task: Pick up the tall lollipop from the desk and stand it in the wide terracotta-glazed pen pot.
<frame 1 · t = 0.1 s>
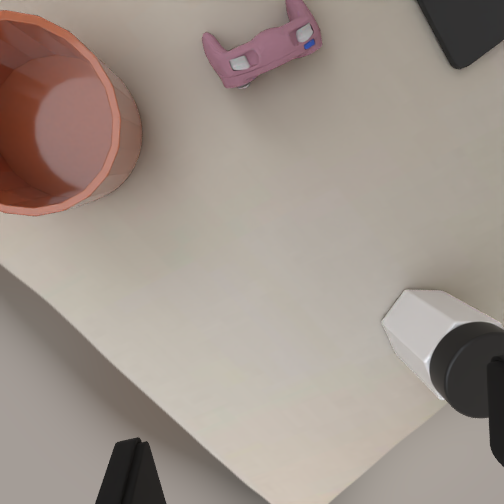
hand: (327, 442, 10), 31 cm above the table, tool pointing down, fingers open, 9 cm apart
jar: (417, 321, 45), on the table
video game controller: (258, 49, 37), on the table
pen pot: (67, 129, 37), on the table
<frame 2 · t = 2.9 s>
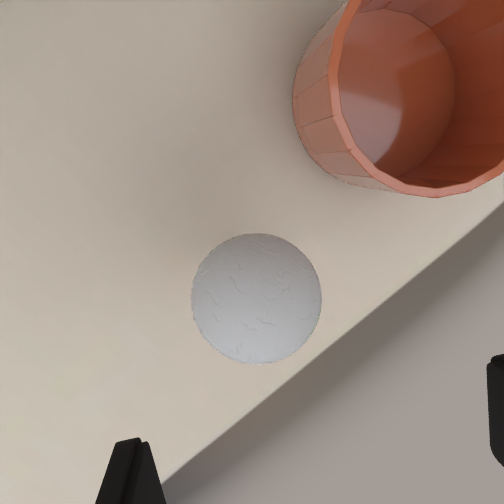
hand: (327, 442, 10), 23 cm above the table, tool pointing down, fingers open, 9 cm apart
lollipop: (238, 251, 33), on the table
pen pot: (376, 99, 31), on the table
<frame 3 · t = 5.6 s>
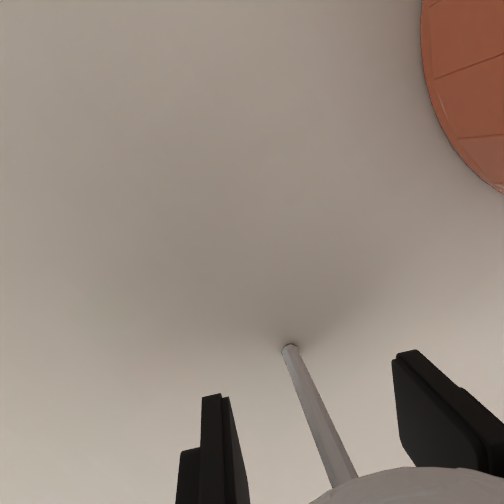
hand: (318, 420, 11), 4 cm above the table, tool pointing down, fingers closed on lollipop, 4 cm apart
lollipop: (288, 349, 16), on the table, touching gripper
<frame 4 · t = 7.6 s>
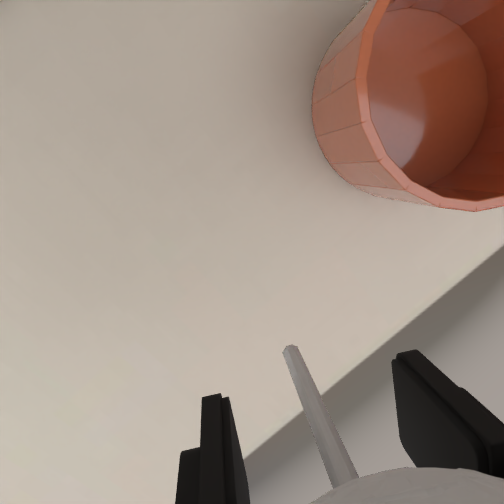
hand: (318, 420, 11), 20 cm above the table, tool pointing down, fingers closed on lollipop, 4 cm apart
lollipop: (289, 350, 16), point 15 cm above the table, touching gripper
pen pot: (401, 104, 29), on the table
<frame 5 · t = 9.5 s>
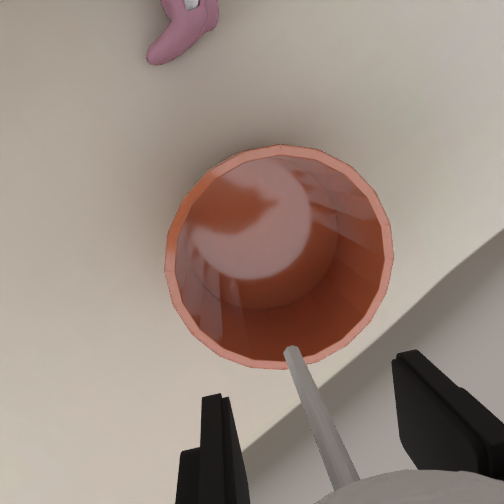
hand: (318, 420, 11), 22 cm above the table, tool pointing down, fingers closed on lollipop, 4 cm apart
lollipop: (290, 350, 16), point 18 cm above the table, touching gripper
pen pot: (261, 235, 33), on the table
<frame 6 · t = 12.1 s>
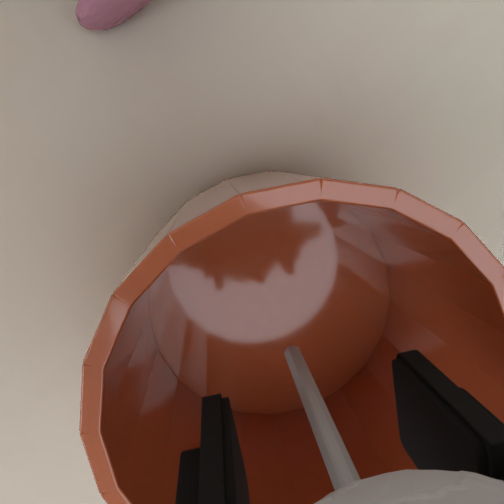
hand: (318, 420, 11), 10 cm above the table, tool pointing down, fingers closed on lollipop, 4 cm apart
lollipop: (291, 350, 16), point 5 cm above the table, touching gripper
pen pot: (271, 302, 21), on the table
when the fingers open (6 cm above the table, at t = 13.8 s): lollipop moves 1 cm, resting on pen pot.
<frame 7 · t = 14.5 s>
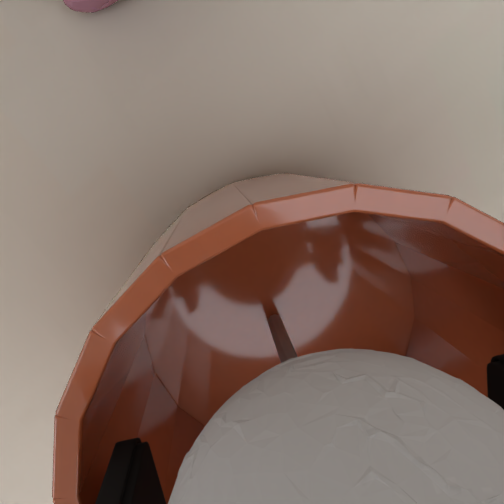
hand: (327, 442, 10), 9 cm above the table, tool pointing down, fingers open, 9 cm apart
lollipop: (273, 319, 18), resting on pen pot
pen pot: (281, 319, 19), on the table
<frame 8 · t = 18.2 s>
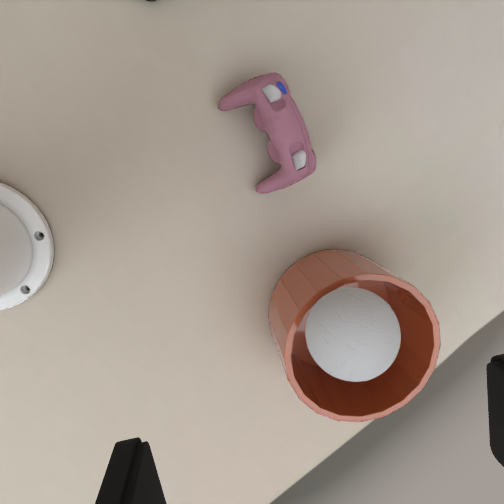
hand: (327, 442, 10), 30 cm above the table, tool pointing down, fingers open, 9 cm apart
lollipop: (328, 310, 42), point 1 cm above the table, touching pen pot
video game controller: (263, 137, 38), on the table
pen pot: (330, 310, 43), on the table
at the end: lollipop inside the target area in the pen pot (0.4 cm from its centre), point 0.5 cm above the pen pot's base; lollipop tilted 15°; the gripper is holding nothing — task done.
